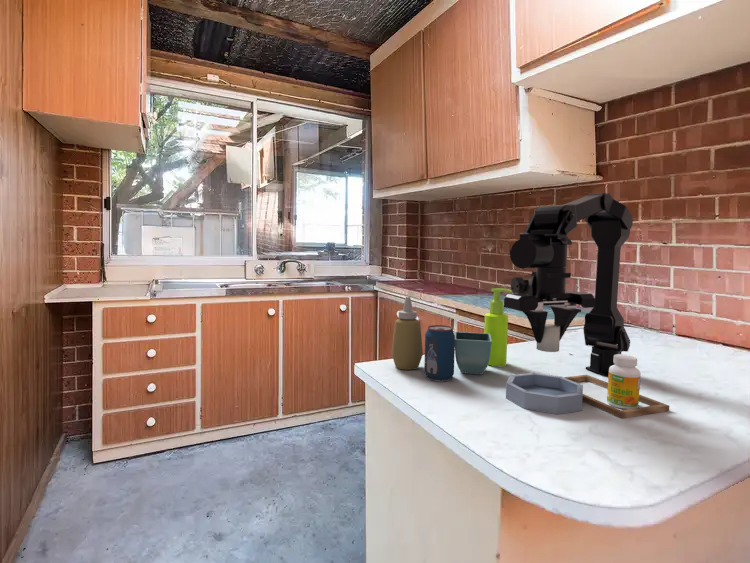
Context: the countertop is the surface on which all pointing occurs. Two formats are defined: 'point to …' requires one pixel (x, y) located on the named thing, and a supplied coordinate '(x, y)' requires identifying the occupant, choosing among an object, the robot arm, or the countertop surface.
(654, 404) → the wooden frame
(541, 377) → the bowl
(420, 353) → the squeeze bottle
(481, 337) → the flower pot
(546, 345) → the white rounded cylinder
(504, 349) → the soap dispenser
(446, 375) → the soda can
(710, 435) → the countertop surface
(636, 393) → the supplement bottle
